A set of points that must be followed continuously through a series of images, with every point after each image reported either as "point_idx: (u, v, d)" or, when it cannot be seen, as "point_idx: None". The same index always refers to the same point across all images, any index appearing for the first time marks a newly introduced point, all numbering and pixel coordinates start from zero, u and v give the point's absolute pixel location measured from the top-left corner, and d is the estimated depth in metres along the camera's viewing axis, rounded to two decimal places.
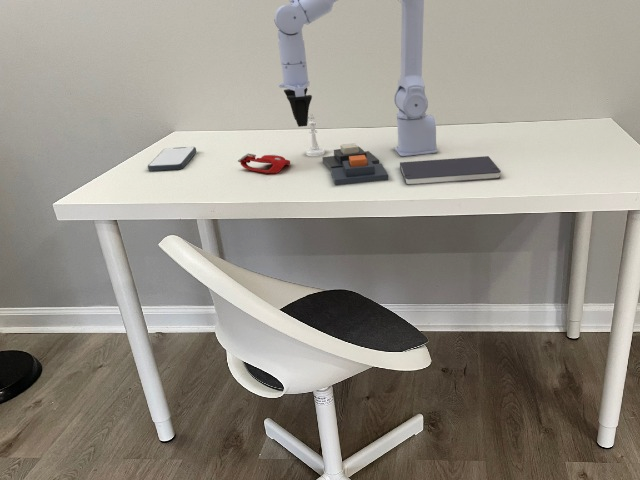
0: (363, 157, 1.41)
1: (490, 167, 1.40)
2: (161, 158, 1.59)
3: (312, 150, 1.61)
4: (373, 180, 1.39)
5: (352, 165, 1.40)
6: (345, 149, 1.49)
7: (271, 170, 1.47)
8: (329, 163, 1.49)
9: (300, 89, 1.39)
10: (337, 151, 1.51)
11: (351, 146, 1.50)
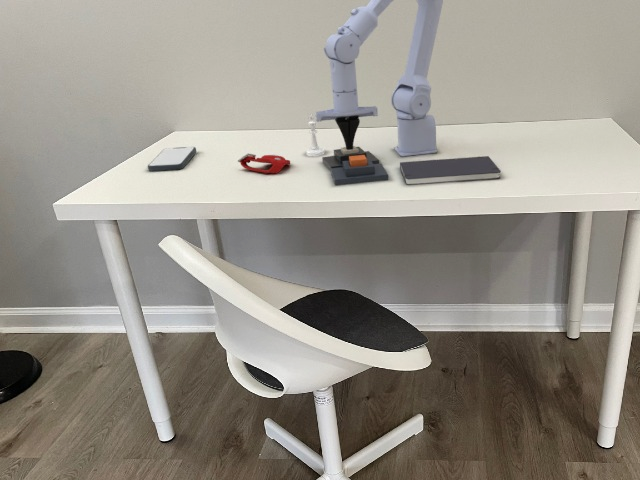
0: (363, 157, 1.41)
1: (490, 167, 1.40)
2: (161, 158, 1.59)
3: (312, 150, 1.61)
4: (373, 180, 1.39)
5: (352, 165, 1.40)
6: (345, 152, 1.49)
7: (271, 170, 1.47)
8: (329, 163, 1.49)
9: (315, 114, 1.45)
10: (337, 151, 1.51)
11: (351, 149, 1.50)
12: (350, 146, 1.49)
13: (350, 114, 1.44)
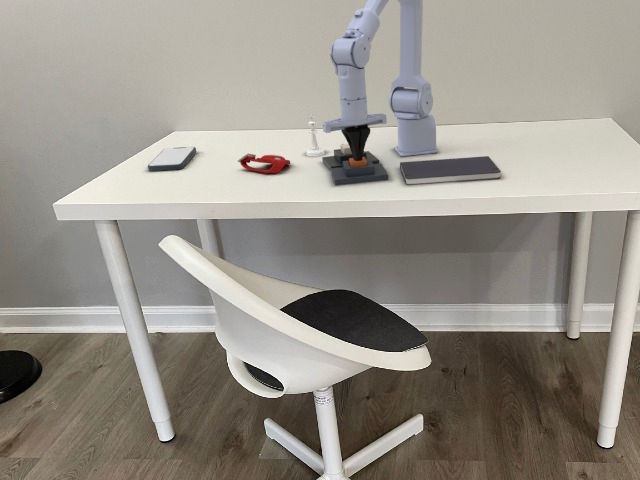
0: (363, 159, 1.41)
1: (490, 167, 1.40)
2: (161, 158, 1.59)
3: (312, 150, 1.61)
4: (373, 180, 1.39)
5: None
6: (345, 149, 1.49)
7: (271, 170, 1.47)
8: (329, 163, 1.49)
9: (324, 125, 1.34)
10: (337, 151, 1.51)
11: None
12: (360, 157, 1.40)
13: (362, 123, 1.35)
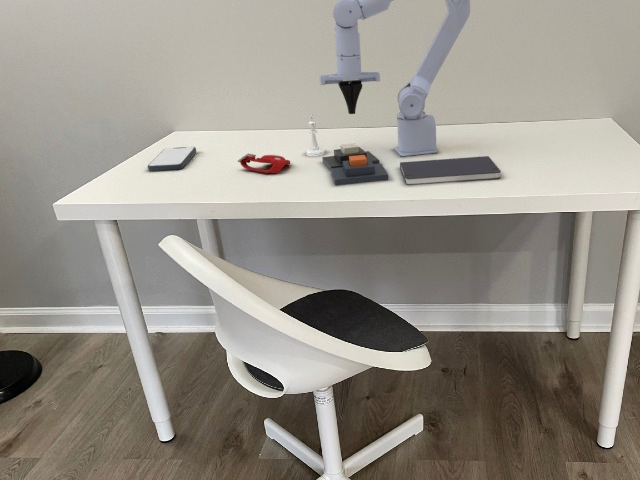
0: (363, 157, 1.41)
1: (490, 167, 1.40)
2: (161, 158, 1.59)
3: (312, 150, 1.61)
4: (373, 180, 1.39)
5: (352, 165, 1.40)
6: (345, 149, 1.49)
7: (271, 170, 1.47)
8: (329, 163, 1.49)
9: (319, 78, 1.49)
10: (337, 151, 1.51)
11: (351, 146, 1.50)
12: (352, 110, 1.53)
13: (353, 78, 1.48)
